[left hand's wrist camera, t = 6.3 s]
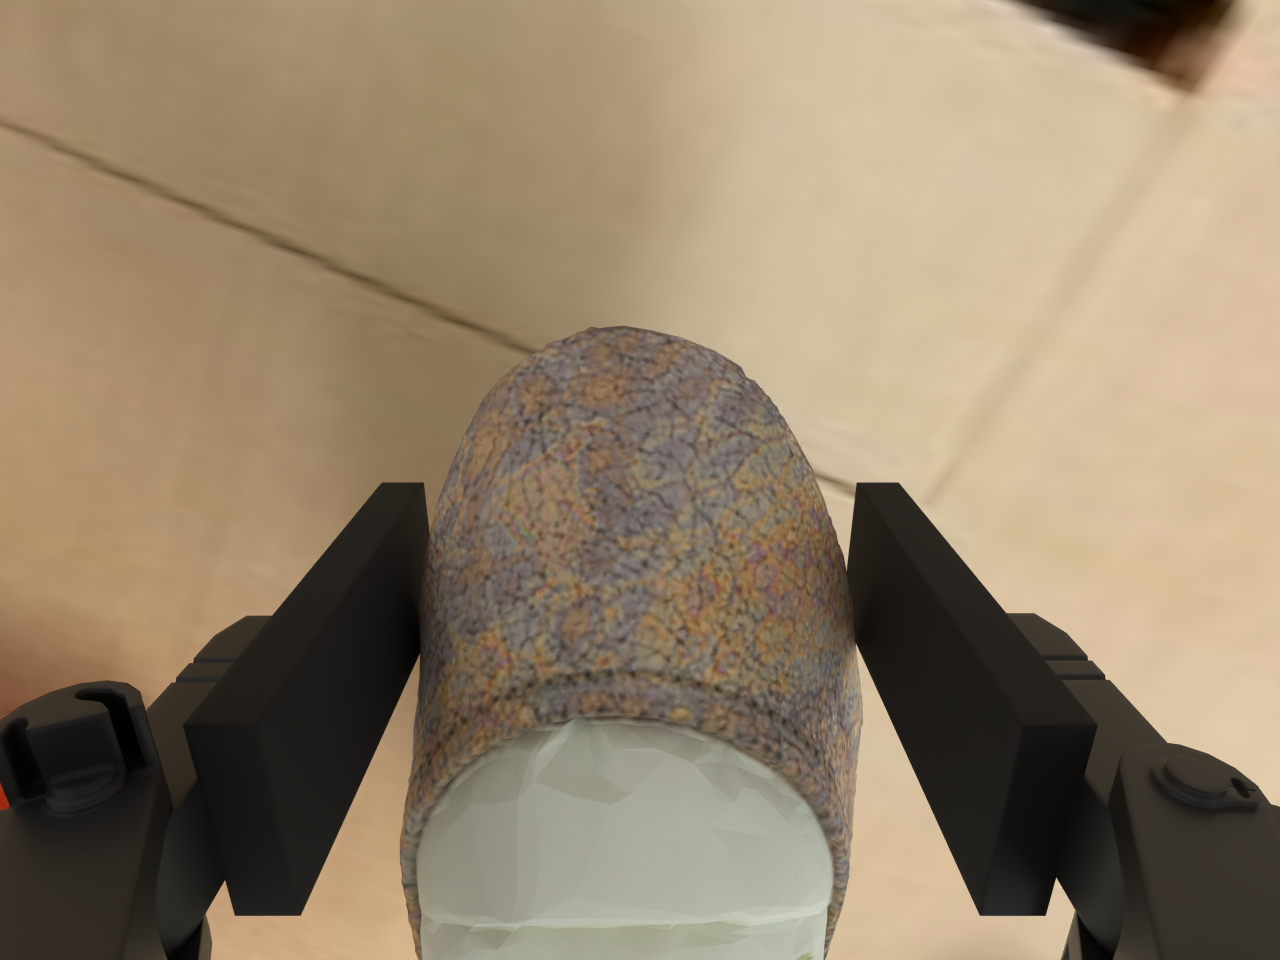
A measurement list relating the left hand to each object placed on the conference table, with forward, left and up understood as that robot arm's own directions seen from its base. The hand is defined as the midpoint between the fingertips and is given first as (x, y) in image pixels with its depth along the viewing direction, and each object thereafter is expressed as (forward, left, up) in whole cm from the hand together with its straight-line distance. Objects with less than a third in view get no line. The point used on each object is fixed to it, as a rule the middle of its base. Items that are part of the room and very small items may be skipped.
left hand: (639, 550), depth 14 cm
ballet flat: (+4, +7, 0) cm, 8 cm away
